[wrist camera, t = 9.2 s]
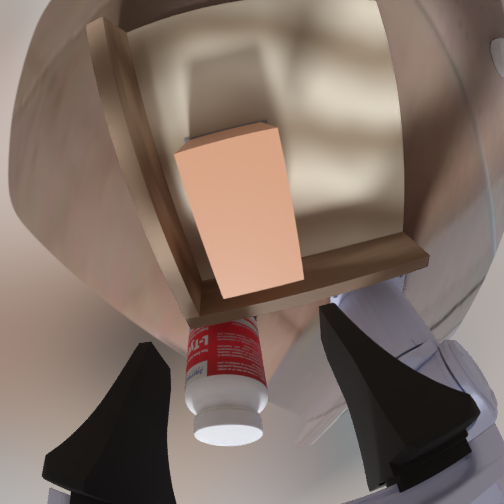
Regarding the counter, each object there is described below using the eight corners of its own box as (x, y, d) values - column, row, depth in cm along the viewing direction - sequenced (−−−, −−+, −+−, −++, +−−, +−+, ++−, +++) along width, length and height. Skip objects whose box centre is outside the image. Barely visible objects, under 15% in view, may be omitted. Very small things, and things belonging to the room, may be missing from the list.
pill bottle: (199, 293, 22) (193, 413, 13) (267, 309, 24) (291, 421, 14) (183, 339, 25) (176, 444, 15) (242, 352, 27) (253, 451, 17)
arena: (397, 237, 22) (427, 266, 17) (195, 287, 22) (190, 329, 18) (370, 3, 11) (406, -14, 7) (116, 41, 12) (85, 25, 8)
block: (189, 140, 15) (173, 154, 11) (260, 122, 15) (277, 127, 10) (222, 249, 19) (223, 299, 15) (284, 234, 19) (304, 279, 15)
